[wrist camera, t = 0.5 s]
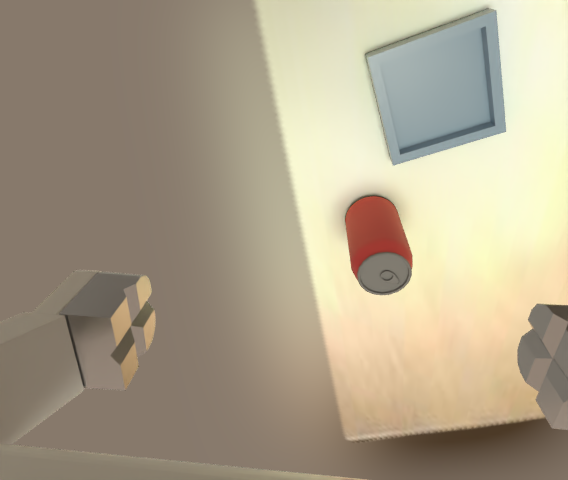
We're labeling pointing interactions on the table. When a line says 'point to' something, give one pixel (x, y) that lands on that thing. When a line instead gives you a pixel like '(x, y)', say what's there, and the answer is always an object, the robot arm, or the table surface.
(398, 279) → the beer can
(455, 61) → the slate tray
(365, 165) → the table surface
